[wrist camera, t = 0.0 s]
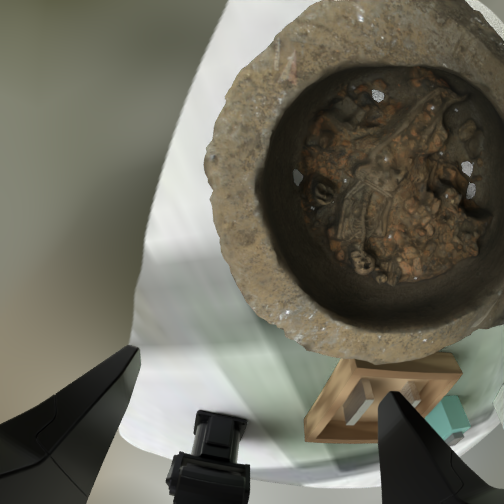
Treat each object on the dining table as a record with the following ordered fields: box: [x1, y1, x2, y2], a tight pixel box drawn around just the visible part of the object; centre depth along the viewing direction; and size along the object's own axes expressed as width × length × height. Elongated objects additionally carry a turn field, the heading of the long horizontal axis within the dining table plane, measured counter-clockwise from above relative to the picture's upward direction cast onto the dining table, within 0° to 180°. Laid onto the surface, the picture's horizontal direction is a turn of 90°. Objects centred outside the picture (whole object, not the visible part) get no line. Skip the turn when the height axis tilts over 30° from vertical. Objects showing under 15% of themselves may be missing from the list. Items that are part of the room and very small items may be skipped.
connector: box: [425, 396, 471, 446], centre depth 28 cm, size 4×4×7 cm
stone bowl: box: [204, 0, 504, 365], centre depth 17 cm, size 25×25×9 cm
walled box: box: [304, 352, 463, 444], centre depth 28 cm, size 14×14×4 cm
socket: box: [343, 379, 421, 425], centre depth 28 cm, size 5×7×3 cm
